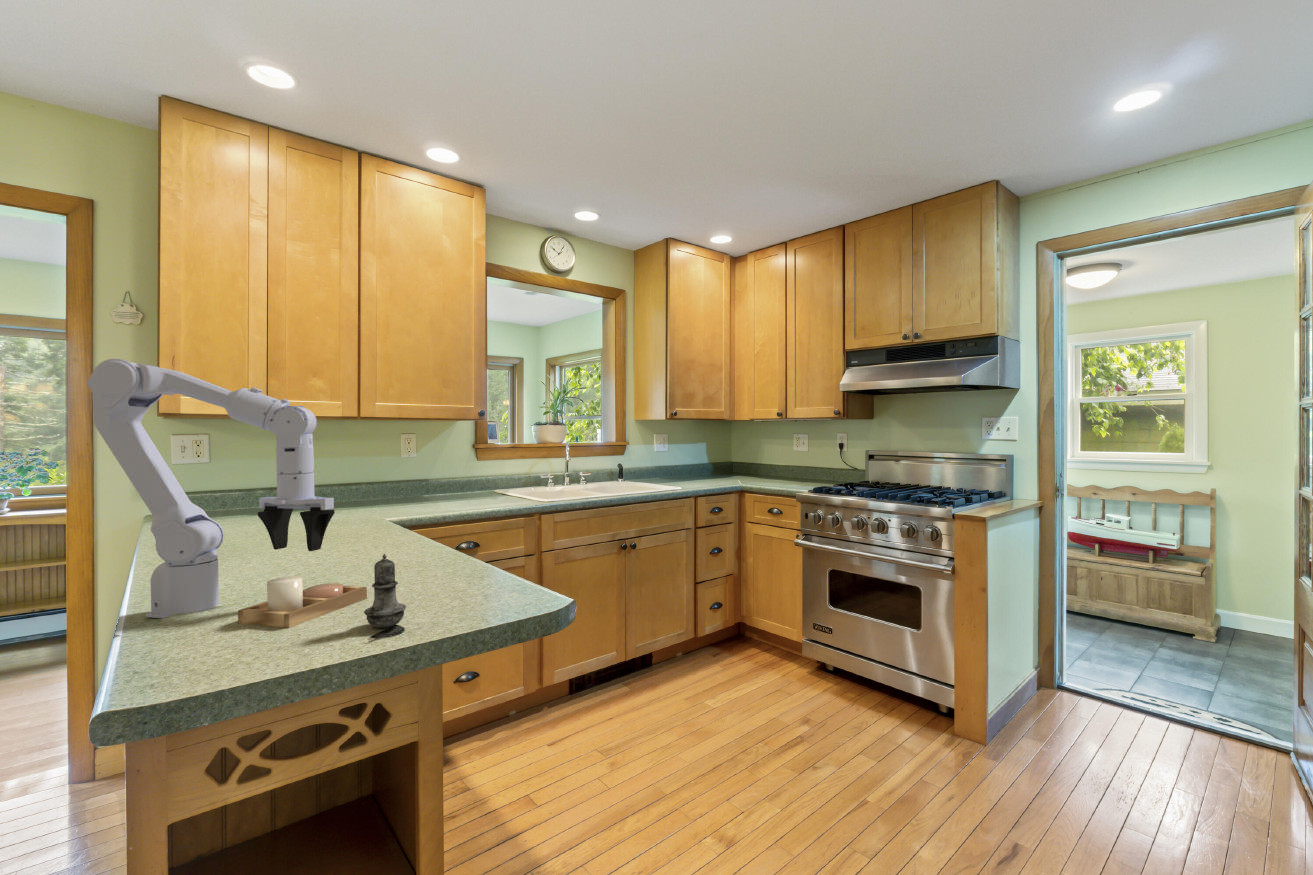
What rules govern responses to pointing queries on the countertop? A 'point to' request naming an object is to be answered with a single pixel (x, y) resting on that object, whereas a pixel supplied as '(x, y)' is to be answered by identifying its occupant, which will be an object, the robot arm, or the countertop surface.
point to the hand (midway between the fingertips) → (297, 549)
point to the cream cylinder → (285, 594)
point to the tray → (301, 609)
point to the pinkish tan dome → (325, 590)
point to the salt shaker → (385, 601)
